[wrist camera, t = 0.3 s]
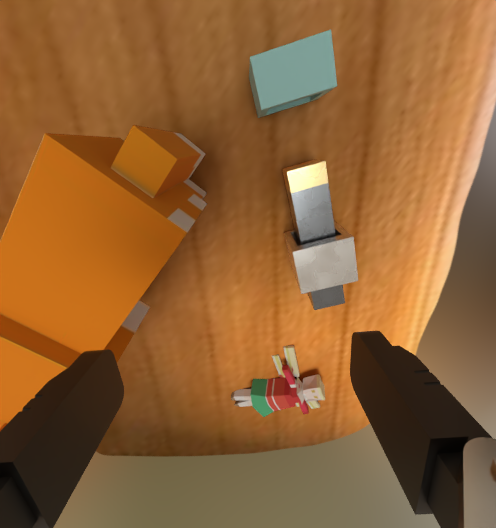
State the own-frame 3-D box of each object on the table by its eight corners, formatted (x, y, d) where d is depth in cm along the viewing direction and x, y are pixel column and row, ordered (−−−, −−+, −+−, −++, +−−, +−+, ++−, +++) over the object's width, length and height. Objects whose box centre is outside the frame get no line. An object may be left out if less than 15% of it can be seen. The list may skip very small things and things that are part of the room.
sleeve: (338, 256, 33) (358, 280, 27) (291, 268, 33) (301, 293, 28) (333, 219, 31) (353, 236, 25) (283, 232, 31) (292, 252, 26)
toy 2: (211, 380, 39) (309, 361, 35) (217, 359, 42) (307, 340, 38) (248, 436, 44) (337, 426, 40) (251, 414, 48) (332, 403, 44)
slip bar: (335, 287, 33) (345, 303, 30) (307, 294, 34) (314, 310, 30) (315, 159, 27) (325, 160, 24) (281, 168, 27) (286, 171, 24)
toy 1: (50, 305, 36) (-155, 471, 17) (160, 109, 26) (-44, 23, 8) (119, 341, 38) (4, 518, 20) (241, 175, 29) (232, 228, 10)
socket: (316, 99, 26) (337, 86, 20) (258, 117, 26) (261, 109, 20) (310, 57, 24) (330, 29, 18) (249, 77, 25) (249, 57, 19)
